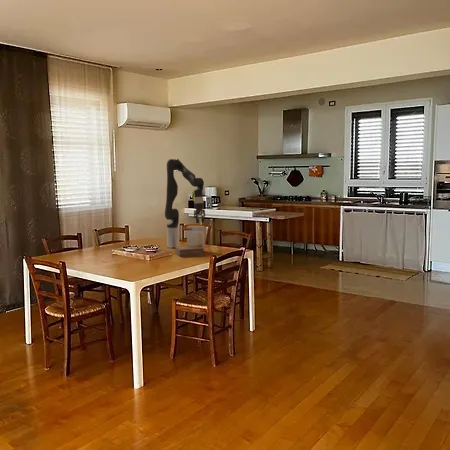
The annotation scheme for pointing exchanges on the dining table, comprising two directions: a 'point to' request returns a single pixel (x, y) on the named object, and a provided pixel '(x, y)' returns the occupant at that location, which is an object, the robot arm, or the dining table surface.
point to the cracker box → (196, 236)
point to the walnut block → (189, 251)
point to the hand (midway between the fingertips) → (200, 222)
